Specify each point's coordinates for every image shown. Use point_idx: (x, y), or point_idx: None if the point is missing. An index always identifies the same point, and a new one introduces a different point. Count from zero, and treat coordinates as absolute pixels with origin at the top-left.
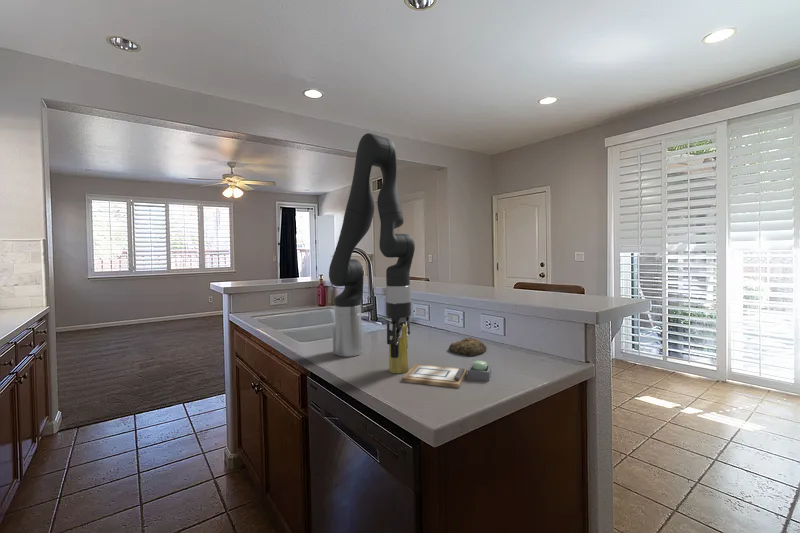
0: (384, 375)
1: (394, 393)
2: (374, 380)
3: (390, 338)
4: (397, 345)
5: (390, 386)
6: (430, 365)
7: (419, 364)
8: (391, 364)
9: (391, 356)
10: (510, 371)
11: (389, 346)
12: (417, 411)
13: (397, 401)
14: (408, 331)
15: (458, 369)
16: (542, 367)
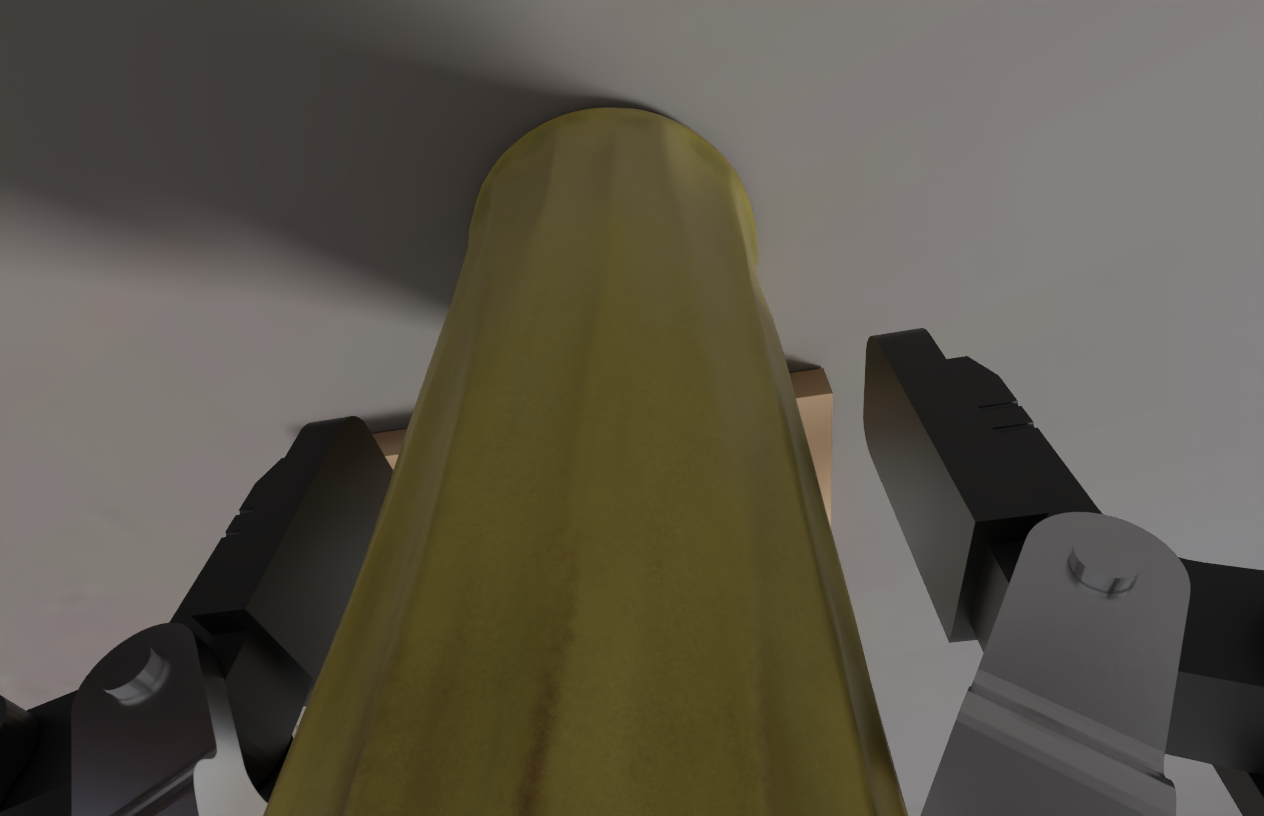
0: (332, 185)
1: (82, 500)
2: (88, 171)
3: (85, 804)
4: (297, 702)
5: (150, 412)
6: (830, 523)
7: (829, 433)
8: (474, 261)
9: (311, 435)
10: (916, 788)
11: (461, 376)
12: (53, 671)
13: (14, 565)
14: (1239, 802)
15: None
16: None
